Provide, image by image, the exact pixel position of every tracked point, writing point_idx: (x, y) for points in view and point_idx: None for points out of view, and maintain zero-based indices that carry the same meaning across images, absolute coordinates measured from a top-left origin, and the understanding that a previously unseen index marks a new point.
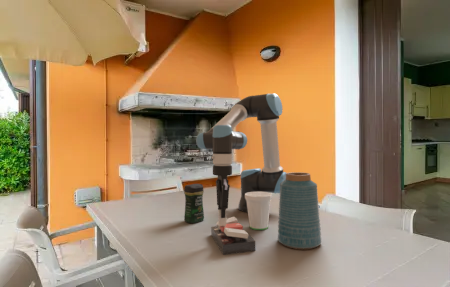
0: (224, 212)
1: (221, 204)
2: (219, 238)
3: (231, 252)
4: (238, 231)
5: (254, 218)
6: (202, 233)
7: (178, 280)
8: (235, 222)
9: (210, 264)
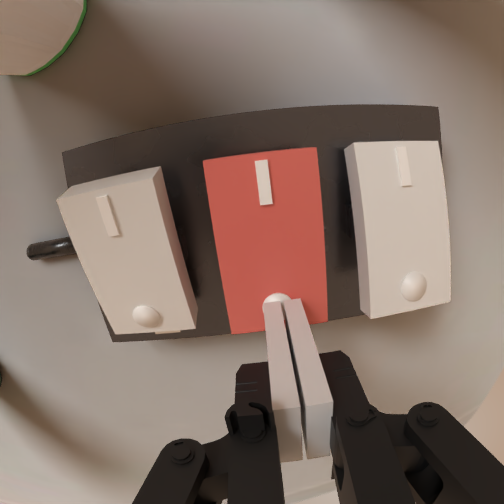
0: (360, 394)
1: (432, 488)
2: (344, 314)
3: None
4: (419, 212)
5: (34, 26)
6: (106, 351)
7: (485, 389)
8: (162, 192)
9: (460, 326)
